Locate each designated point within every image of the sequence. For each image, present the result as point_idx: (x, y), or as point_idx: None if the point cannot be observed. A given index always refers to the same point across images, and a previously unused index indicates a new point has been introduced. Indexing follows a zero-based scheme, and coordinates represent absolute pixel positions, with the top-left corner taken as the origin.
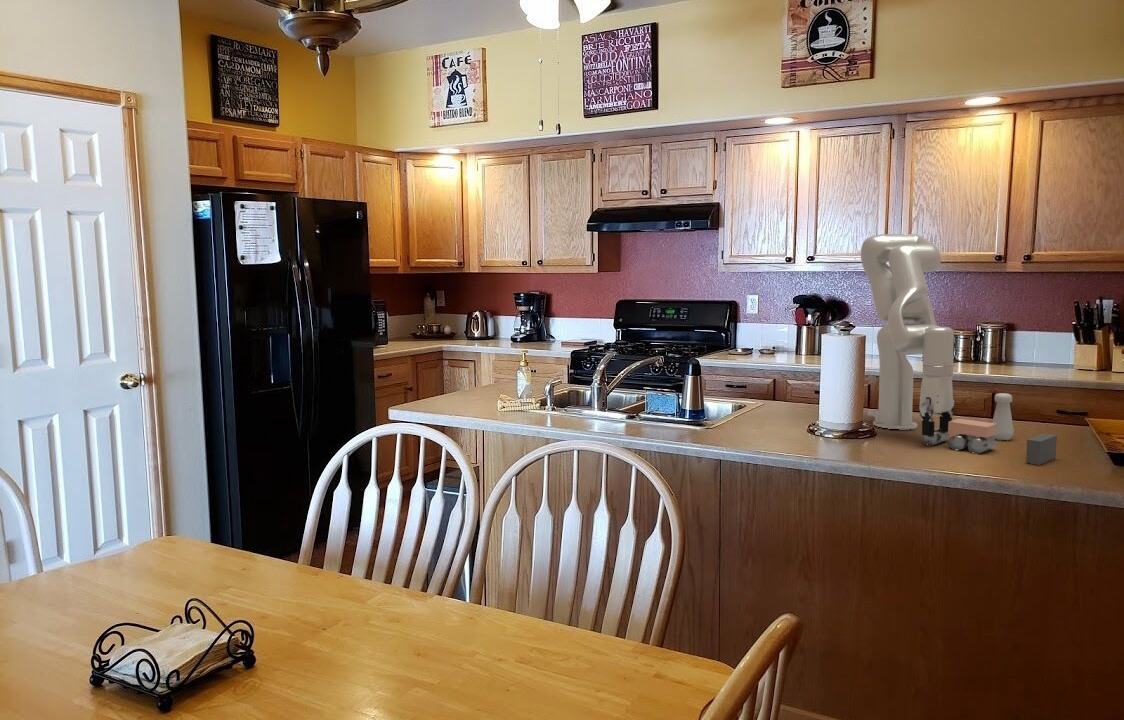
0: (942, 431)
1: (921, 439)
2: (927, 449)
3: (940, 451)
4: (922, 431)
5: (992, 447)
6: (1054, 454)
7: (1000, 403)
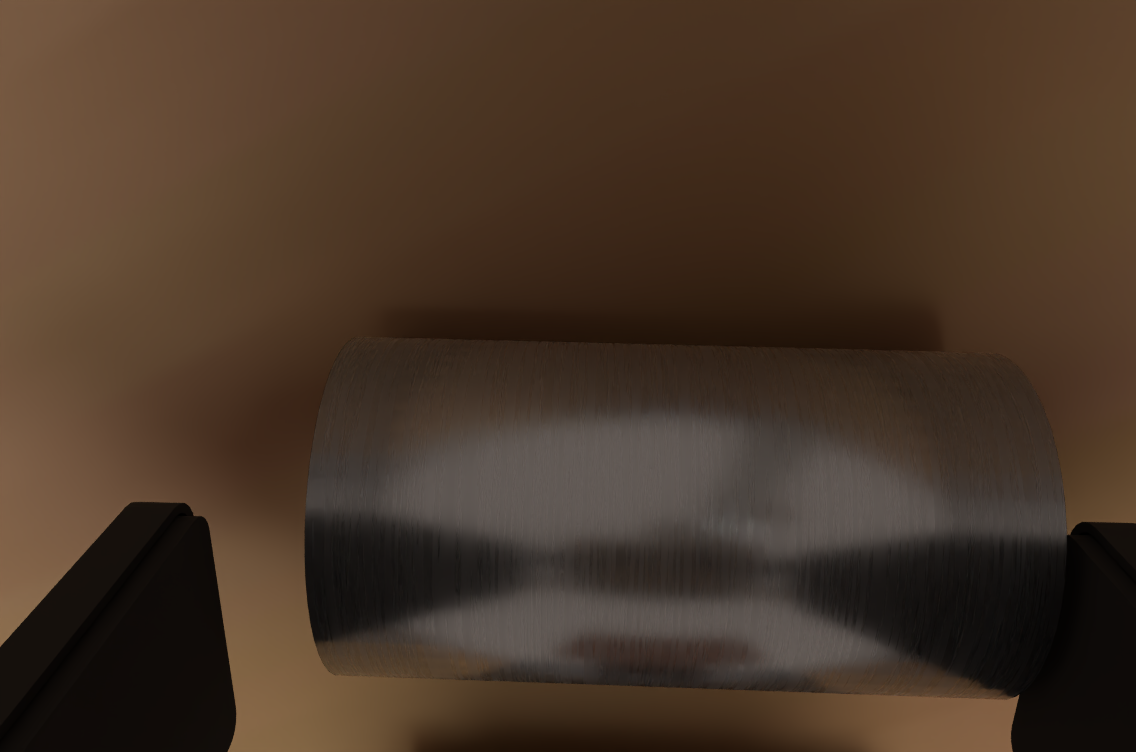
0: (795, 691)
1: (349, 343)
2: None
3: None
4: (106, 549)
5: None
6: None
7: None
